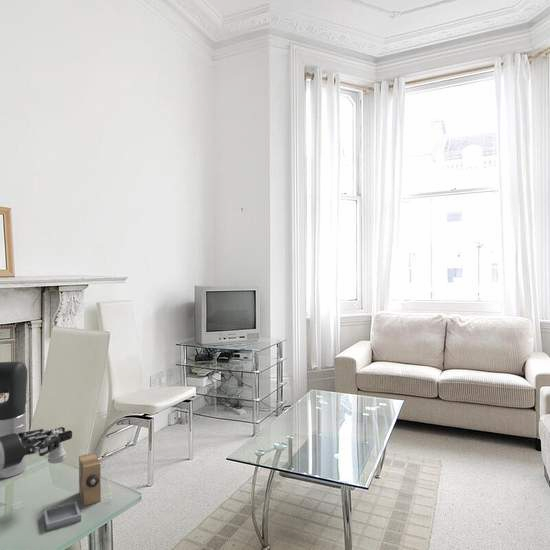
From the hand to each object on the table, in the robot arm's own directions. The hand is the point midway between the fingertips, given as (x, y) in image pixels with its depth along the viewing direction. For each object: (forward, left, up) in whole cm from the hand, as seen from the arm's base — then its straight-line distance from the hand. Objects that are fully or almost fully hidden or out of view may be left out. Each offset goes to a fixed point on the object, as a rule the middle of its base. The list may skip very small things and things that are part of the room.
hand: (67, 432), depth 115 cm
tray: (+11, -3, -17) cm, 21 cm away
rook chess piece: (+1, -3, -7) cm, 7 cm away
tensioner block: (+4, +5, -17) cm, 18 cm away
